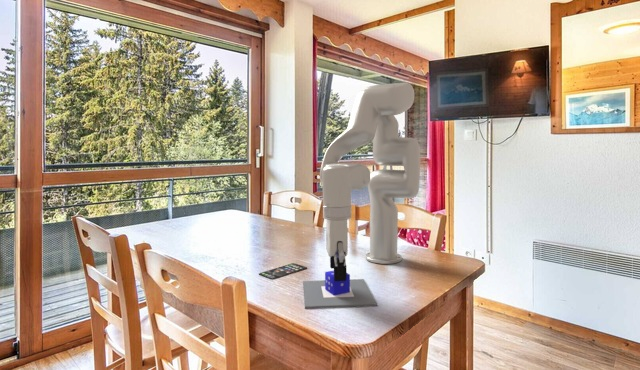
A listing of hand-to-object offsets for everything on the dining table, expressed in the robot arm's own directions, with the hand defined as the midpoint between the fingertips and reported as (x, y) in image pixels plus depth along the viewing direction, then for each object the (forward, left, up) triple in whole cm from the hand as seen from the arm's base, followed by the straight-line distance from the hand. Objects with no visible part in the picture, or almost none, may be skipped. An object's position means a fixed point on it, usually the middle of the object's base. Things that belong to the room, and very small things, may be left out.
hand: (338, 274), depth 103 cm
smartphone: (-19, -15, -6) cm, 25 cm away
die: (0, 0, -5) cm, 5 cm away
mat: (+1, 0, -5) cm, 5 cm away
